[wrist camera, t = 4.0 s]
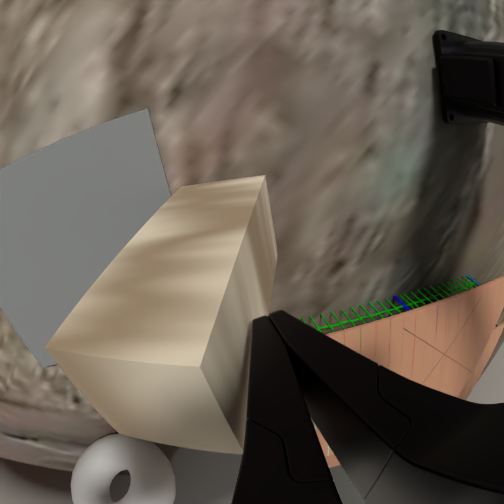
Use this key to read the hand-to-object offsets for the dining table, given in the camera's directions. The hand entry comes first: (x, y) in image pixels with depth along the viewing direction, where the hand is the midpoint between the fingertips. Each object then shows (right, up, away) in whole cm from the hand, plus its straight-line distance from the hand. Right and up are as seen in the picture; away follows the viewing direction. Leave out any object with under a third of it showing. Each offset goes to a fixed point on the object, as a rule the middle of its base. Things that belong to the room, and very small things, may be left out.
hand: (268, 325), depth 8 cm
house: (+14, -10, +20) cm, 27 cm away
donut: (-12, -14, +13) cm, 22 cm away
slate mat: (-10, +2, +6) cm, 11 cm away
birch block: (-2, +4, +6) cm, 7 cm away
